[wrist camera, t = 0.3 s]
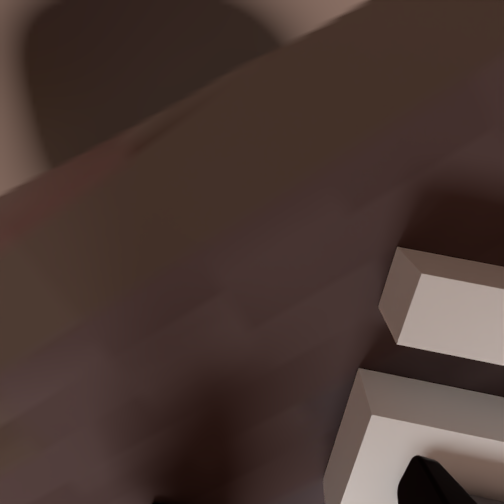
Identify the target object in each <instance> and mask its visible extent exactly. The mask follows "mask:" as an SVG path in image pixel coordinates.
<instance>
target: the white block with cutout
mask: <svg viewBox="0 0 504 504" xmlns="http://www.w3.org/2000/svg"><path fill="white" fill-rule="evenodd" d="M378 308H379V310H380V312H381V314H382V316H383V318H384V320H385V322H386V324H387V326H388V328H389V330H390V332H391V334H392V336H393V338H394V340H395V342H396V344H398V345H403V346H408V347H413V348H418V349H423V350H428V351H433V352H438V353H443V354H448V355H453V356H458V357H463V358H468V359H473V360H478V361H483V362H488V363H493V364H498V365H503V366H504V267H502V266H497V265H492V264H486V263H481V262H476V261H471V260H465V259H460V258H455V257H449V256H444V255H439V254H434V253H428V252H423V251H418V250H412V249H407V248H402V247H397V249H396V252H395V255H394V258H393V261H392V264H391V267H390V271H389V274H388V277H387V280H386V283H385V286H384V289H383V292H382V296H381V299H380V302H379V305H378ZM416 455H420V456H424V457H427V458H431V459H434V460H436V461H438V462H439V463H440V464H441V465H442V466H443V467H444V468H445V469H446V470H447V472H448V473H449V474H450V475H451V476H452V477H453V478H454V479H455V480H456V481H457V482H458V483H459V484H460V485H461V486H462V487H463V488H464V490H465V491H466V492H467V493H468V494H470V495H474V496H479V497H484V498H488V499H493V500H498V501H503V502H504V397H500V396H495V395H490V394H485V393H480V392H475V391H470V390H465V389H460V388H455V387H451V386H446V385H441V384H436V383H431V382H426V381H421V380H416V379H411V378H406V377H401V376H396V375H391V374H386V373H381V372H376V371H372V370H367V369H362V368H358V371H357V374H356V377H355V380H354V383H353V387H352V390H351V393H350V396H349V399H348V402H347V405H346V408H345V412H344V415H343V418H342V421H341V424H340V427H339V430H338V434H337V437H336V440H335V443H334V446H333V449H332V452H331V456H330V459H329V462H328V465H327V468H326V471H325V474H324V477H323V488H324V499H325V504H398V499H397V489H398V484H399V482H400V480H401V478H402V476H403V474H404V472H405V470H406V468H407V466H408V464H409V462H410V460H411V459H412V457H414V456H416Z"/></svg>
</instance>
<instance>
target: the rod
mask: <svg viewBox="0 0 504 504" xmlns="http://www.w3.org/2000/svg"><path fill="white" fill-rule="evenodd" d="M469 495H470V494H469ZM470 496H471V497H472V498H473V499H474V500H475V501H476V502H477V503H478V504H504V502H503V501H498V500H493V499H488V498H484V497H479V496H474V495H470Z"/></svg>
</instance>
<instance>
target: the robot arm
mask: <svg viewBox="0 0 504 504" xmlns="http://www.w3.org/2000/svg"><path fill="white" fill-rule="evenodd" d="M397 499H398V504H478V503H477V502H476V501H475V500H474V499H473V498H472V497H471V496H470V495H469V494H468V493H467V492H466V491H465V490H464V488H463V487H462V486H461V485H460V484H459V483H458V482H457V481H456V480H455V479H454V478H453V477H452V476H451V475H450V474H449V473H448V472H447V470H446V469H445V468H444V467H443V466H442V465H441V464H440V463H439V462H438V461H436V460H434V459H431V458H427V457H424V456H420V455H416V456H414V457H412V459H411V460H410V462H409V464H408V466H407V468H406V470H405V472H404V474H403V476H402V478H401V480H400V482H399V484H398V489H397ZM153 504H158V503H153Z"/></svg>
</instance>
